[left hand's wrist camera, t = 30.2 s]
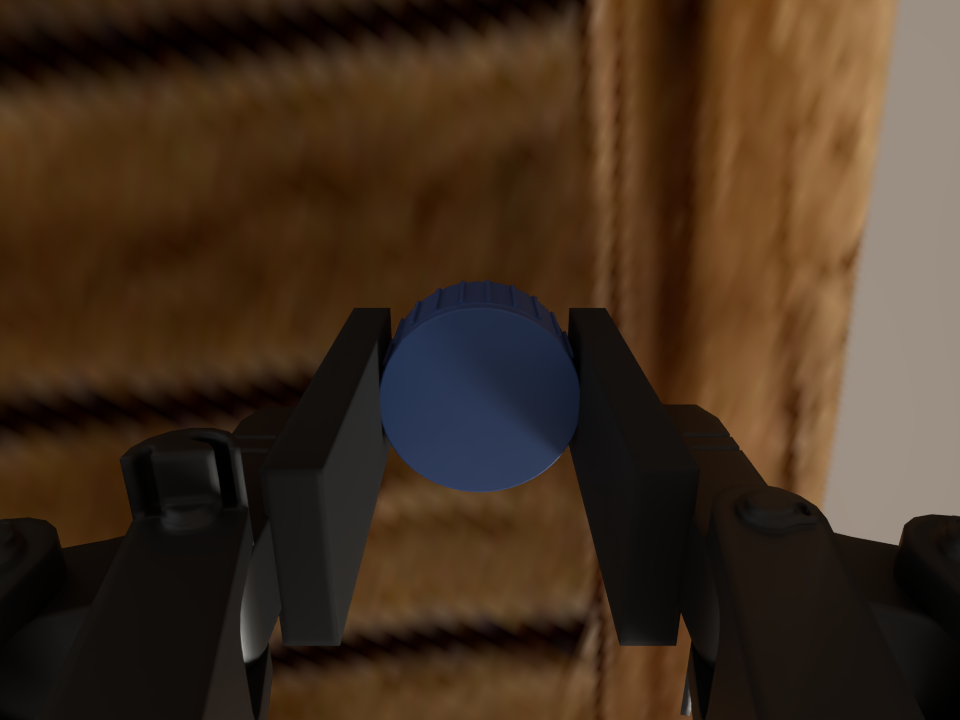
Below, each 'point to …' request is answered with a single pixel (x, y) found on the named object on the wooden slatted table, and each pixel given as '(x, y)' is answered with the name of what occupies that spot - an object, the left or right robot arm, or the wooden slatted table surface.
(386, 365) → the cap
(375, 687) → the wooden slatted table surface
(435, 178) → the wooden slatted table surface
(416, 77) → the wooden slatted table surface
